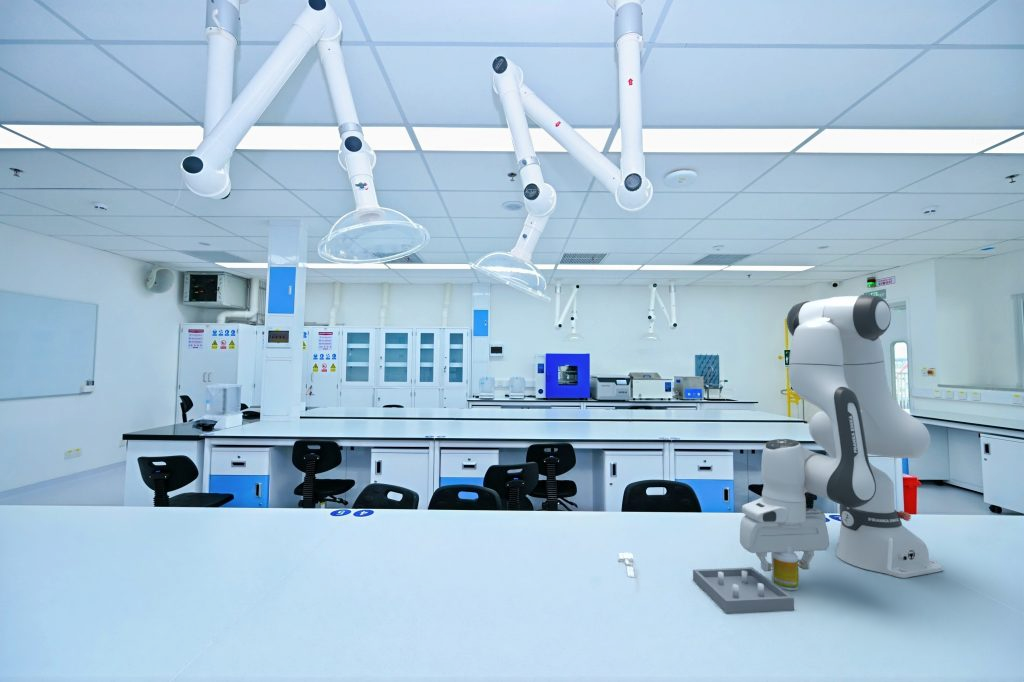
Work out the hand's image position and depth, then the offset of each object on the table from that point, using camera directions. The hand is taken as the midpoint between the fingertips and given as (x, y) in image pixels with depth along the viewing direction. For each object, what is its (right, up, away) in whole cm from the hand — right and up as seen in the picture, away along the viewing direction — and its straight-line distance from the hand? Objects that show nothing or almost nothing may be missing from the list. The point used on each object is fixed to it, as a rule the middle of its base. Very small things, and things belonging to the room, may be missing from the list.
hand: (785, 569), depth 104 cm
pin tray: (-13, -3, -4) cm, 14 cm away
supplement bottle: (0, -4, 0) cm, 4 cm away
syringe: (-35, -5, +6) cm, 35 cm away
